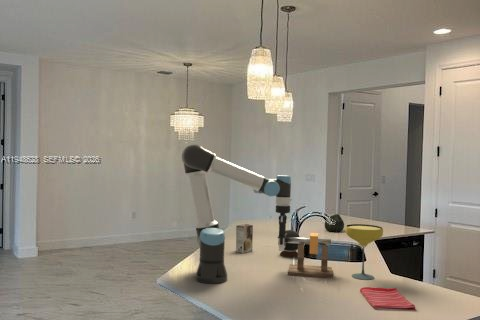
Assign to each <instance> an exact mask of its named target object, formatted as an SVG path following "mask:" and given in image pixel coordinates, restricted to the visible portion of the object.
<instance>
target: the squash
mask: <svg viewBox="0 0 480 320" xmlns="http://www.w3.org/2000/svg"><path fill="white" fill-rule="evenodd" d="M329 217H330V218H332V219H333V220H335V221H336V224H335V225H329V224H328V223H327V222H326V220H325V221H324V228H325V230H326V231H327V232H330V231H331V232H336V231H337V232H336V233H340V232H342V231H343V230H344V228H345V223H344V220H343V218H342V217H341V215H340V214H339V213H335V214H333V215H330V216H329Z"/></svg>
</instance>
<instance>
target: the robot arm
mask: <svg viewBox="0 0 480 320" xmlns="http://www.w3.org/2000/svg"><path fill="white" fill-rule="evenodd" d="M181 160H182V163H183V168H184V173H185V175H186V176H188V178H189V182H190V188H191V193H192V194H191V195H192V199H193V206H194V209H195V215H196V222H197V224H196V225H195V231H196V240H197V244H198V246H199V264H198V267H197V268H196V273H195V281H197V282H199V283H205V284H220V283H221V284H222V283H224V282H226V281H228V272H227V267H226V266H225V244H226V243H225V240H226V235H225V234H226V233H225V231H224V230H223V229H220V225H219V222H218V221H217V220H216V219H215V215H214V209H213V205H212V198H211V193H210V188H209V182H208V176H207V173H213V174H216V175H218V176H220V177H223V178H226V179H227V180H230V181H233V182H235V183H237V184H240V185H242V186H244V187H248V188H250V189H252V191H253V193H255V194H259V195H260V194H264V195H266V196H267V197H275V213H277V214H280V215H279V216H278V225H279V226H278V236H277V239H278V238H279V245H278V251H279V252H281V251H284V248H285V245H284V234H286V235H287V233H286V230H287V229H286V227H287V219H288V217H287V215H286V214H290V213H291V206H290V205H291V201H292V200H293V199H292V198H291V191H292V190H291V189H292V179H291V176H290V175H287V174H285V175H284V174H281V175H279V174H278V175H276V177H275V178H267V177H265V176H263V175H260V174H257V173H256V172H253V171H251V170H248V169H246V168H244V167H241V166H239V165H237V164H234V163H232V162H230V161H228V160H225V159H222V158H220V157H218V156H217V155H216V153H214V152H212V151H210V150H208V149H206V148H204V147H203V146H202V145H199V144H191V145H187V146H185V148H184V149H183V151H182V154H181Z"/></svg>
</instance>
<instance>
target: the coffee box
mask: <svg viewBox="0 0 480 320" xmlns="http://www.w3.org/2000/svg"><path fill="white" fill-rule="evenodd" d="M253 226H254V225H253V224H247V223H244V224H239V225H237V224H236V227H235V228H236V229H235V231H236V232H235V252H237V253H240V254H241V253H242V254H246V253H249V252H252V251H253V244H254V243H253V239H254V237H253V236H254V235H253V233H254V230H253V228H254V227H253Z"/></svg>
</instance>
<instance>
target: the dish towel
mask: <svg viewBox="0 0 480 320" xmlns="http://www.w3.org/2000/svg"><path fill="white" fill-rule="evenodd" d="M359 291H360V293H361V294H362V296H363V297H364V298H365V300H366V301H367V303H368V304H369V305H370V306H371V307H372V308H373V309H375V310H384V311H385V310H387V311H389V310H390V311H412V312H413V311H415V312H416V311H417V309H416V305H415V304H414V303H412V302H411V301H409V300H408V299H406V297H405V296H404V295H403V294H402V293H400V291H399V290H398V289H397V287H392V288H384V287H369V286H368V287H367V286H364V287H361V288H360V289H359Z"/></svg>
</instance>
